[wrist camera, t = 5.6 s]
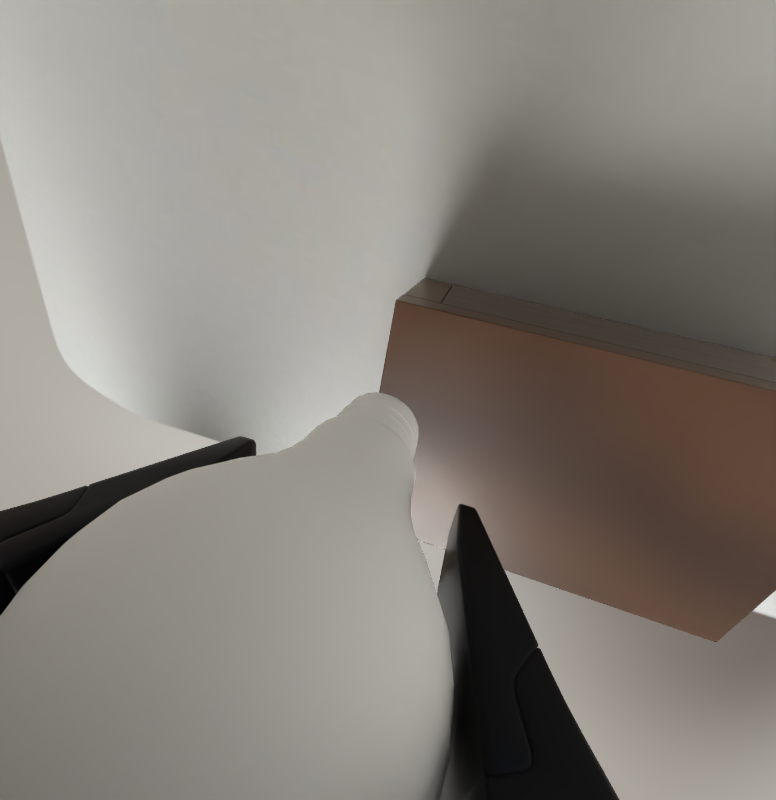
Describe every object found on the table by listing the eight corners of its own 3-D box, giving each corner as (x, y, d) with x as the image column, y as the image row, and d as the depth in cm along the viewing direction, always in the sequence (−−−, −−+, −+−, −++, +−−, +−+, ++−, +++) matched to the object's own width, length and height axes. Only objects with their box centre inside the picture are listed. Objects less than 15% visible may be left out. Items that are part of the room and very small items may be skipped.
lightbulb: (312, 472, 14) (-51, 965, 5) (296, 320, 12) (-621, 775, 2) (467, 501, 13) (388, 1280, 3) (492, 337, 10) (429, 1933, 1)
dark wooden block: (663, 540, 22) (716, 642, 17) (386, 455, 25) (355, 519, 19) (804, 364, 16) (954, 433, 11) (423, 277, 19) (395, 299, 14)
